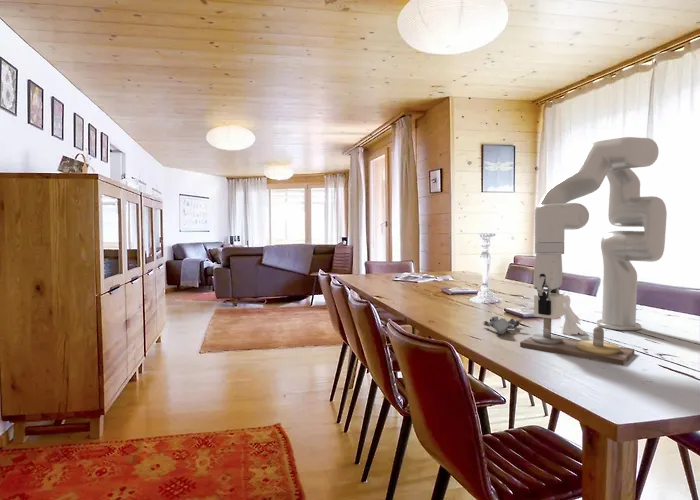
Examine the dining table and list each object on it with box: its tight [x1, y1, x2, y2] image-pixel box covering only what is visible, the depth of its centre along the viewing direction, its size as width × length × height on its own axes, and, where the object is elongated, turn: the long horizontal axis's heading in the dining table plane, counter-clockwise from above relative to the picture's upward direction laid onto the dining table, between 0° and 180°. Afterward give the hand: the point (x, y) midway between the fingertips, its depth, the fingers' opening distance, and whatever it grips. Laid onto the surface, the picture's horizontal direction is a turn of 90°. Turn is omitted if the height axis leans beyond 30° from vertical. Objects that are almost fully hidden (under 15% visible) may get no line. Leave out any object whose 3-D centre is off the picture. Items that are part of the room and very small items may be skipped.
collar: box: [533, 292, 565, 320], centre depth 127 cm, size 6×6×6 cm
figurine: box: [561, 294, 589, 336], centre depth 140 cm, size 8×8×12 cm
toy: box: [482, 315, 522, 335], centre depth 144 cm, size 7×11×15 cm
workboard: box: [519, 317, 635, 366], centre depth 122 cm, size 13×25×8 cm, turn 47°
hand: (548, 311), depth 127 cm, fingers closed on collar, 6 cm apart
